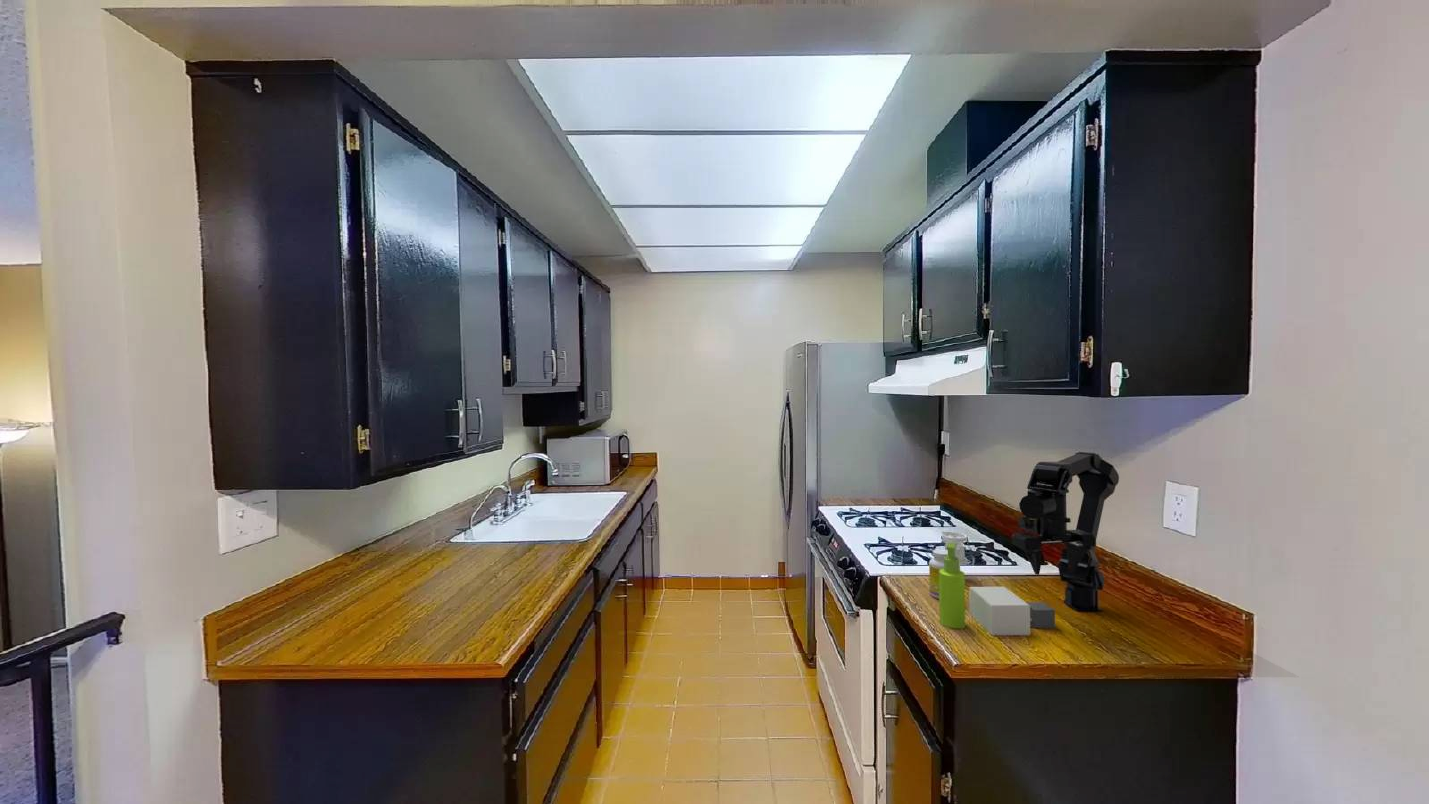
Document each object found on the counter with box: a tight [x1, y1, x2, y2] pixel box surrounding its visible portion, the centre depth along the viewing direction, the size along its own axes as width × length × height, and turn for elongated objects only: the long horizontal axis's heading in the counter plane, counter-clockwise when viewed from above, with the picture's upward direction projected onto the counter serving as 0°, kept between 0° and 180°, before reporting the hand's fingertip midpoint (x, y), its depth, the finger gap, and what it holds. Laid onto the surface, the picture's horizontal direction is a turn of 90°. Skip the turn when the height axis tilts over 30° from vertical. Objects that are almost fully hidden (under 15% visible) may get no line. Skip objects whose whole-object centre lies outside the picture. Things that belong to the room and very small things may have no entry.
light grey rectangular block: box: [968, 586, 1031, 636], centre depth 131 cm, size 9×12×7 cm
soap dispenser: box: [938, 542, 966, 629], centre depth 132 cm, size 6×7×20 cm
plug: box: [1025, 601, 1056, 629], centre depth 131 cm, size 6×5×5 cm
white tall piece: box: [941, 529, 968, 571], centre depth 162 cm, size 7×7×15 cm
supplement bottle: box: [928, 548, 948, 600], centre depth 149 cm, size 7×7×13 cm
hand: (1054, 573), depth 132 cm, fingers open, 9 cm apart
